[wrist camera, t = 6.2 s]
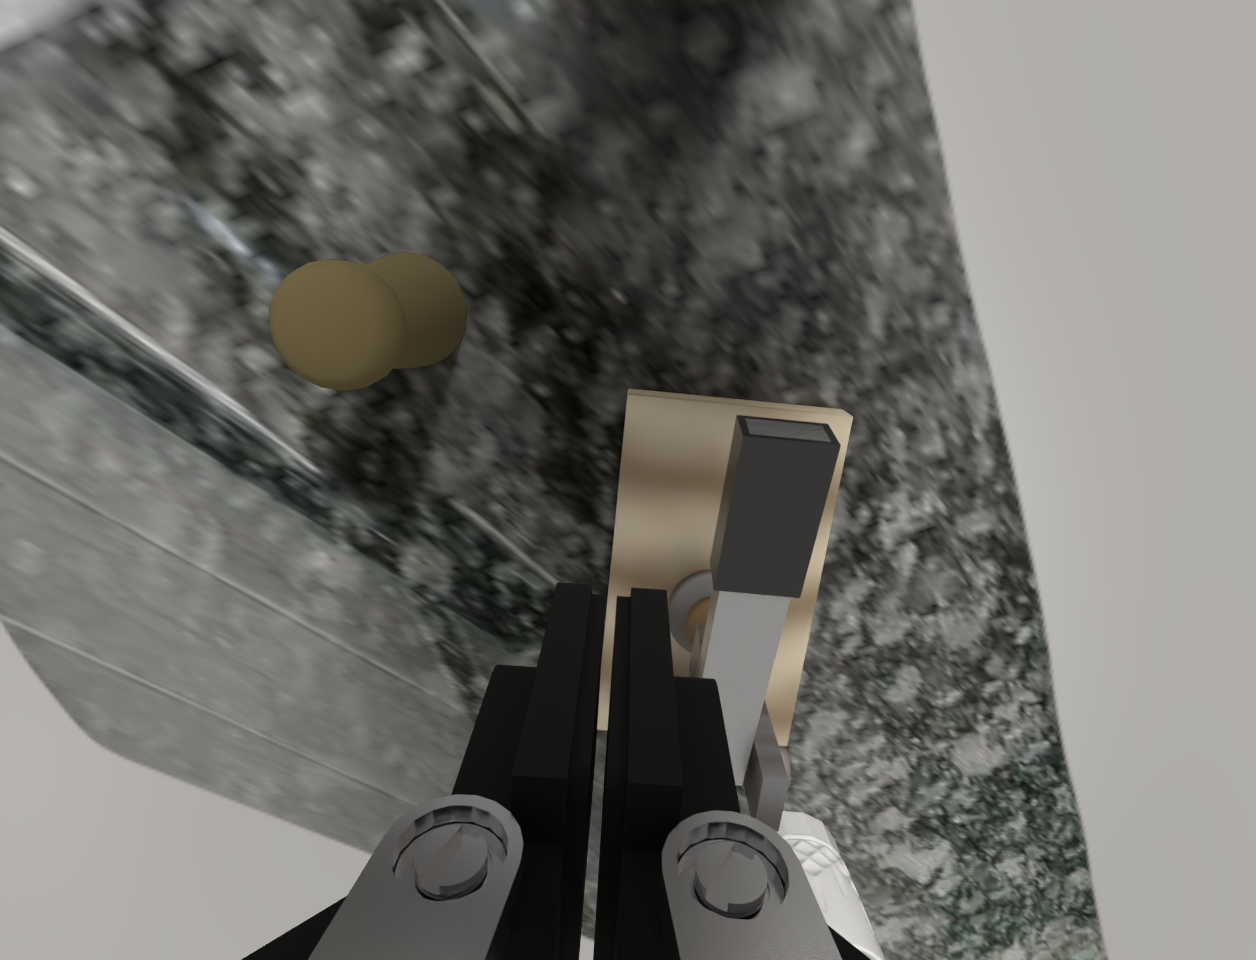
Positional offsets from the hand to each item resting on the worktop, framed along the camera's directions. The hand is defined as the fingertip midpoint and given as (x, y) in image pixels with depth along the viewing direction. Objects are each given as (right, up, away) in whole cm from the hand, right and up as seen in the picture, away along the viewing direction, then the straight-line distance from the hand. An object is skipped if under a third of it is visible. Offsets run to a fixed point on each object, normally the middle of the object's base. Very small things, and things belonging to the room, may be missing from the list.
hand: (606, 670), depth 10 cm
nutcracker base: (+5, -3, +30) cm, 31 cm away
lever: (+5, -2, +22) cm, 23 cm away
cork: (-11, +12, +26) cm, 31 cm away
